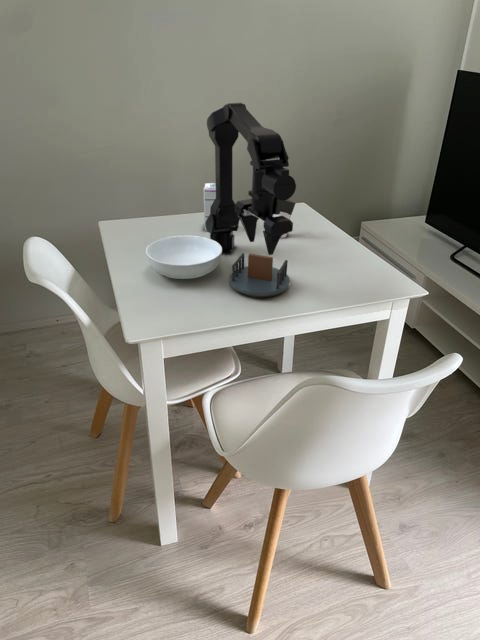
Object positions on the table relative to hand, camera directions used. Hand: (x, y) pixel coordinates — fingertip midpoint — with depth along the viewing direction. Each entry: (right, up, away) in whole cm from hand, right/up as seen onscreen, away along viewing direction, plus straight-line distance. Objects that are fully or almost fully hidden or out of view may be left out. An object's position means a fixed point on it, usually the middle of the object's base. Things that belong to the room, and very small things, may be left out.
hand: (261, 247), depth 133 cm
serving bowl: (-21, -5, +12) cm, 25 cm away
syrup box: (-14, +12, +41) cm, 45 cm away
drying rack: (0, -8, +5) cm, 10 cm away
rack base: (0, -9, +6) cm, 11 cm away
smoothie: (+8, +9, +37) cm, 39 cm away
